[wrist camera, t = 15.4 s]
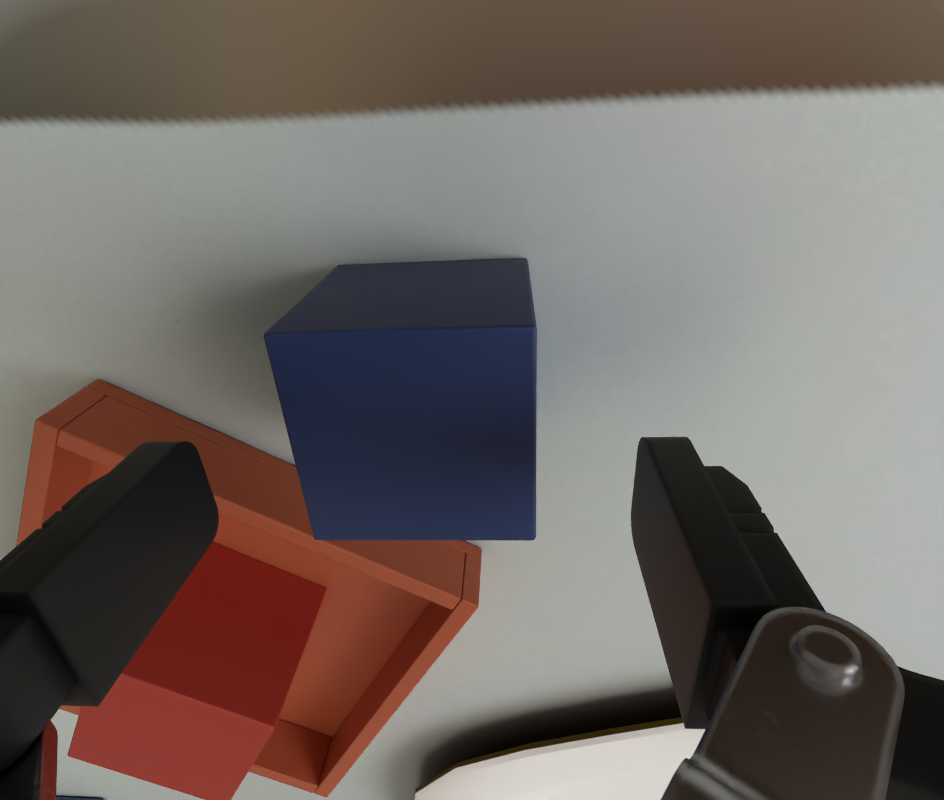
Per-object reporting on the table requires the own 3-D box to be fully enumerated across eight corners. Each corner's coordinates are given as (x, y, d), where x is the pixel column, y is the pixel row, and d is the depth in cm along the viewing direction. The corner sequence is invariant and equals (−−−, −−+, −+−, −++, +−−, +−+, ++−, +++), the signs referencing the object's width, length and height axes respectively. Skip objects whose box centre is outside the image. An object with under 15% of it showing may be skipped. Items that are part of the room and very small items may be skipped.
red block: (160, 618, 21) (65, 756, 16) (191, 532, 18) (92, 664, 14) (283, 664, 22) (226, 807, 17) (327, 587, 19) (275, 728, 15)
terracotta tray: (45, 630, 22) (-6, 688, 20) (97, 377, 16) (34, 419, 14) (343, 736, 25) (326, 798, 22) (482, 548, 19) (479, 606, 17)
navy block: (364, 427, 17) (313, 541, 12) (337, 264, 14) (261, 333, 10) (528, 424, 16) (535, 541, 12) (527, 256, 14) (536, 325, 10)
